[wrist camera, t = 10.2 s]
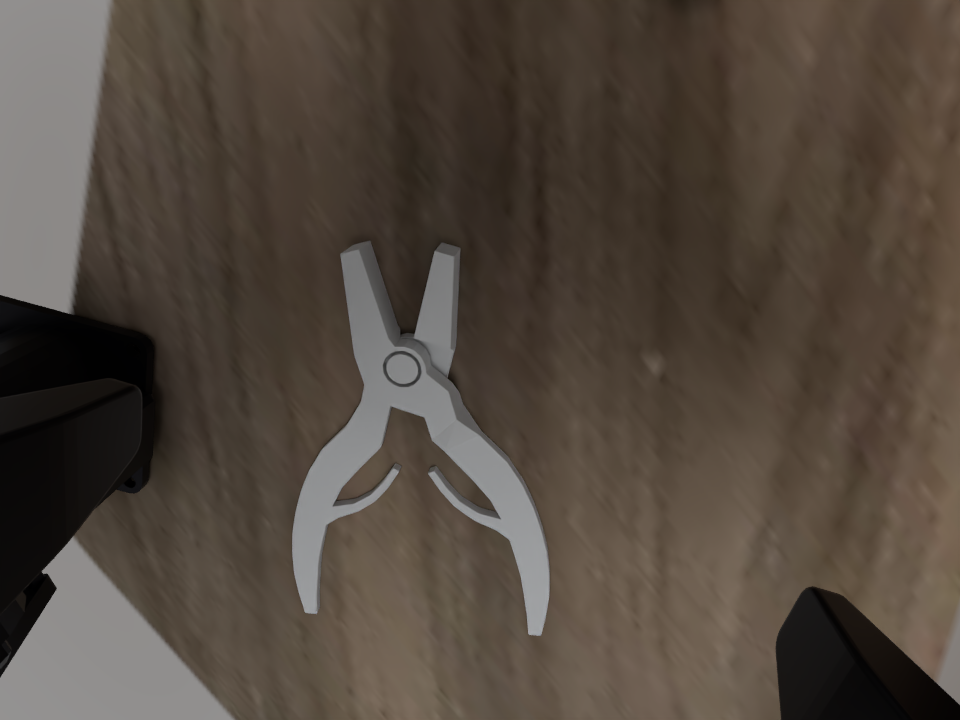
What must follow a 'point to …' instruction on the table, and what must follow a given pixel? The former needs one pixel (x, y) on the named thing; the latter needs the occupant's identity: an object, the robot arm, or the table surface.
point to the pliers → (427, 393)
